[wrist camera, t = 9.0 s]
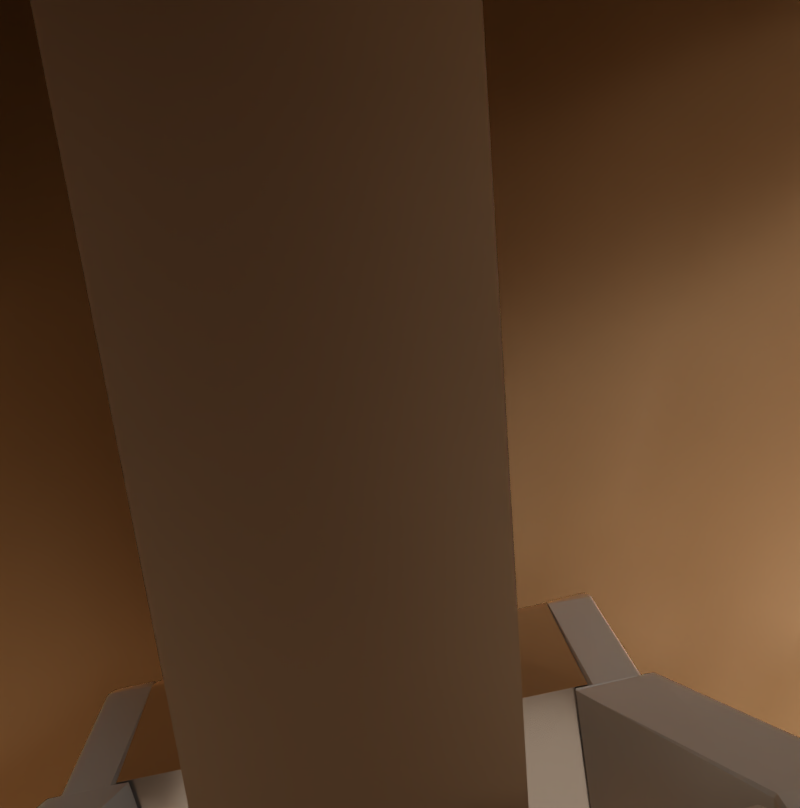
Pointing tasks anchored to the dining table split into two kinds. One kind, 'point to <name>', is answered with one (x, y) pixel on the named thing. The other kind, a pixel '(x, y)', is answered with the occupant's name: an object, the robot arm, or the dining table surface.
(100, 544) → the dining table surface
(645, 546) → the dining table surface
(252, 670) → the wooden l-shaped bracket
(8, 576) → the dining table surface
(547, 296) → the dining table surface
